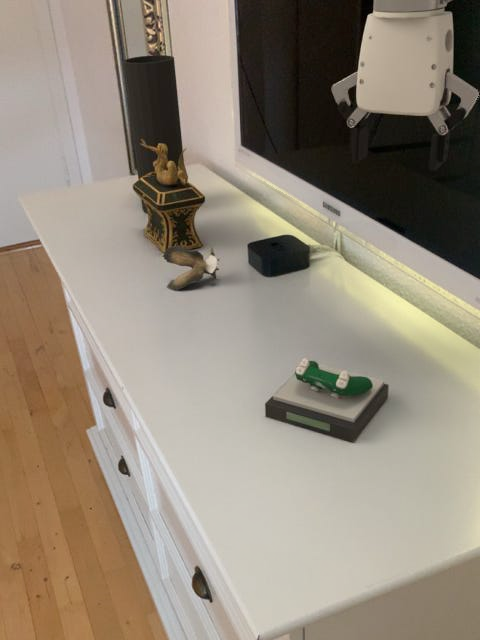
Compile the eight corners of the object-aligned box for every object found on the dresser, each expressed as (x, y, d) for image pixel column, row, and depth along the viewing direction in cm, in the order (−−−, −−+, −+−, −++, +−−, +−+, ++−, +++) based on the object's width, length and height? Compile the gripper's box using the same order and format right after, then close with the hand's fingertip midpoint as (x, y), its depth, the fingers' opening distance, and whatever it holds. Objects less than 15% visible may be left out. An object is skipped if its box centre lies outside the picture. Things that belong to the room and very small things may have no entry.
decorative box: (136, 232, 146) (122, 132, 134) (180, 224, 149) (170, 125, 137) (169, 265, 130) (157, 155, 119) (217, 254, 134) (209, 146, 122)
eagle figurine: (207, 261, 128) (159, 261, 125) (217, 236, 122) (167, 235, 119) (215, 296, 125) (166, 297, 122) (226, 272, 119) (175, 272, 116)
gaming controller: (302, 389, 92) (283, 376, 87) (313, 362, 92) (295, 348, 87) (364, 410, 87) (349, 398, 82) (376, 382, 87) (361, 368, 82)
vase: (186, 214, 153) (171, 61, 136) (140, 216, 154) (119, 64, 136) (189, 199, 162) (175, 54, 144) (145, 201, 162) (127, 56, 145)
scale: (387, 397, 91) (389, 380, 89) (352, 442, 83) (353, 425, 82) (304, 375, 96) (305, 359, 95) (265, 416, 89) (264, 399, 87)
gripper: (501, -6, 74) (477, 162, 84) (349, -4, 81) (344, 149, 91) (480, 2, 68) (458, 180, 78) (320, 3, 76) (318, 164, 86)
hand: (396, 163), depth 85 cm, fingers open, 9 cm apart
